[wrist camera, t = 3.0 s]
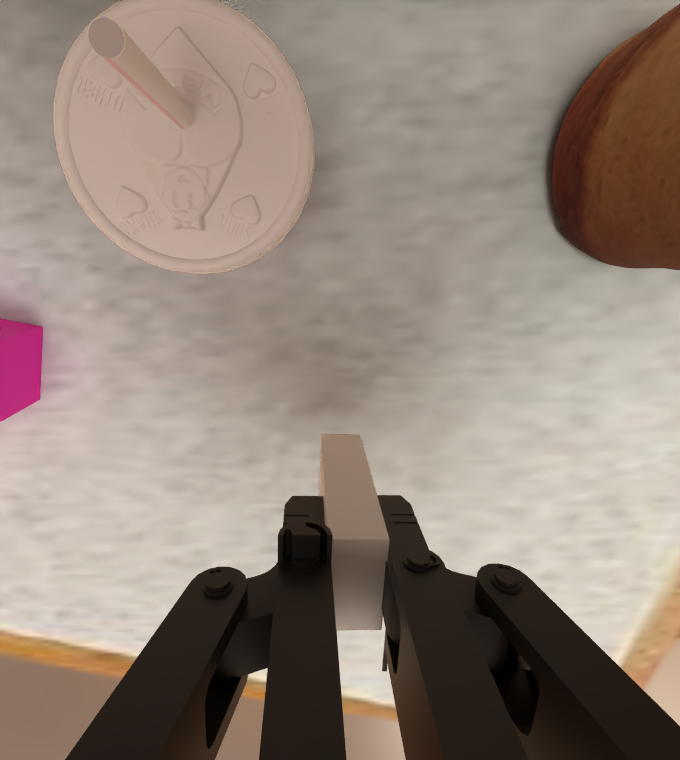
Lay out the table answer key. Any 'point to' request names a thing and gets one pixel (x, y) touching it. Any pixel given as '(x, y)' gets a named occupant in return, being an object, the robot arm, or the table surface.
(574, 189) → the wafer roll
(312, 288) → the table surface
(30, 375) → the toy block
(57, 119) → the smoothie
